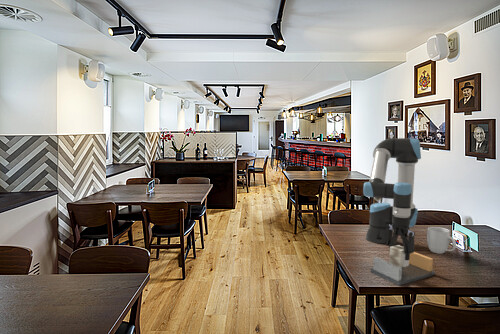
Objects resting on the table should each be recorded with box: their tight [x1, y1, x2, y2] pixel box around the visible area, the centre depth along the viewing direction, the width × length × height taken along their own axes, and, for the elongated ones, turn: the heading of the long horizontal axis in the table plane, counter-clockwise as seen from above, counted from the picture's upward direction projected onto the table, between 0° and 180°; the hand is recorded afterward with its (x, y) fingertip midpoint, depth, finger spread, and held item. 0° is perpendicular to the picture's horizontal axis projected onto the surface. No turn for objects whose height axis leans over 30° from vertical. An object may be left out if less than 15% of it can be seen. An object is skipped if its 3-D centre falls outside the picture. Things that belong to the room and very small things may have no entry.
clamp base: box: [370, 256, 436, 287], centre depth 153 cm, size 16×25×8 cm, turn 117°
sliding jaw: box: [409, 251, 434, 272], centre depth 158 cm, size 14×2×6 cm, turn 27°
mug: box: [426, 226, 457, 255], centre depth 180 cm, size 15×11×13 cm
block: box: [388, 244, 409, 267], centre depth 151 cm, size 6×6×8 cm
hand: (398, 263), depth 152 cm, fingers closed on block, 6 cm apart
